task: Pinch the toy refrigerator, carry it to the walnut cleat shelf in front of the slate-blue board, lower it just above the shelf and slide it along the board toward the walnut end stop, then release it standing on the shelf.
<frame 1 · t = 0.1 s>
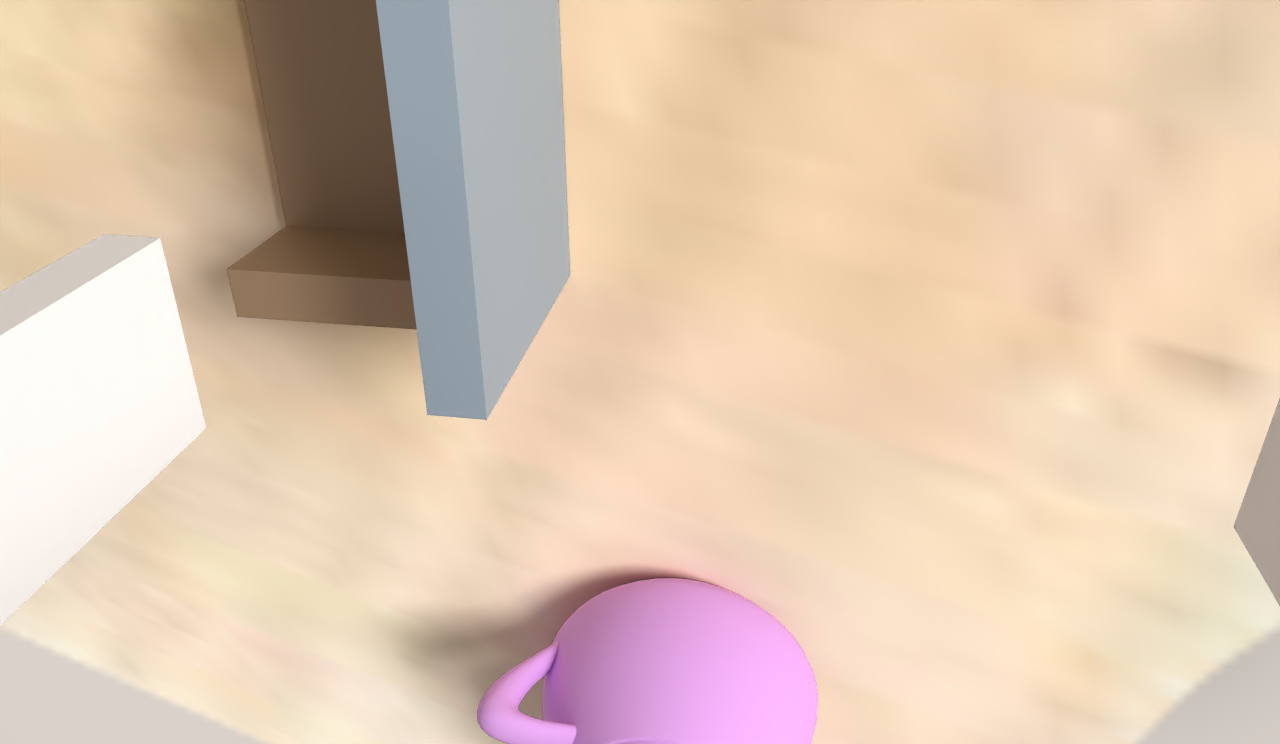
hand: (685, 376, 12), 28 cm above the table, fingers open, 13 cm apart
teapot: (698, 666, 52), on the table
cleat board: (406, 0, 38), on the table
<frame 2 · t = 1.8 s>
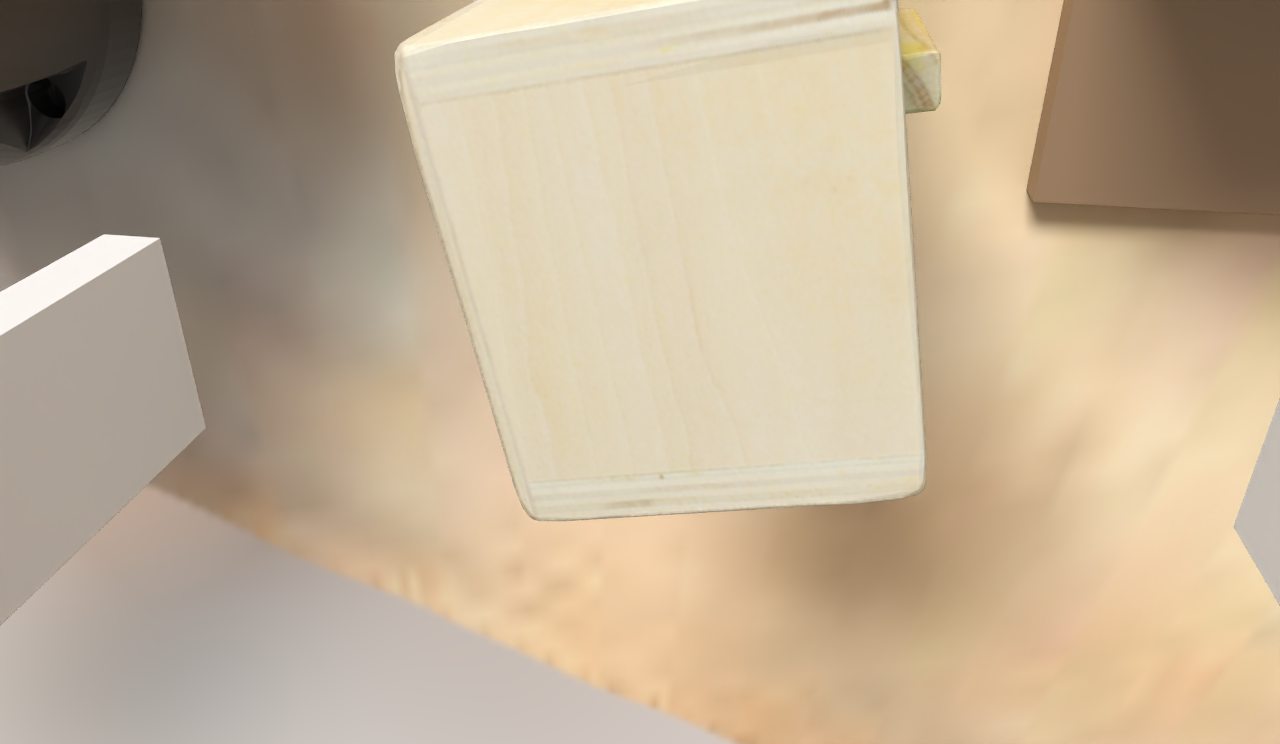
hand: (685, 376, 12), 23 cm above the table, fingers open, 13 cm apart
toy refrigerator: (765, 24, 32), on the table
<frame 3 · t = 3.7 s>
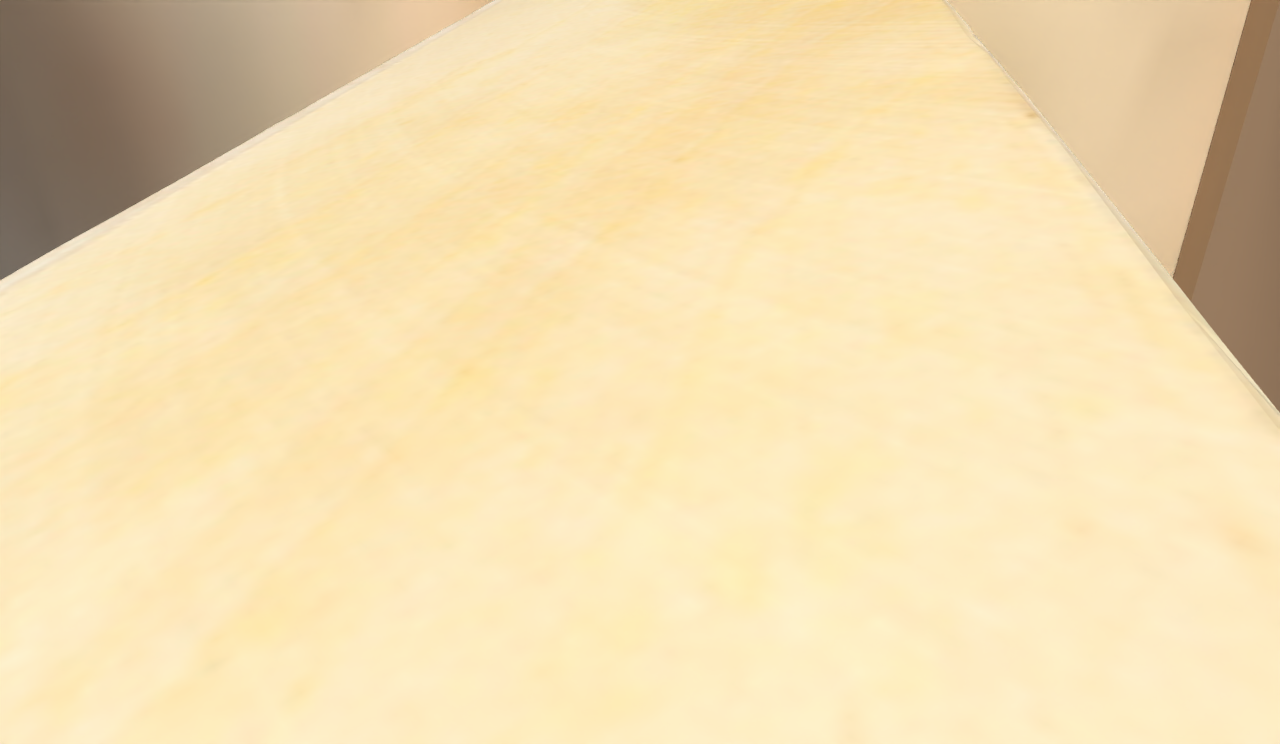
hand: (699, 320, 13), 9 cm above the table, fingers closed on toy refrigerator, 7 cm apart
toy refrigerator: (755, 134, 21), on the table, touching gripper
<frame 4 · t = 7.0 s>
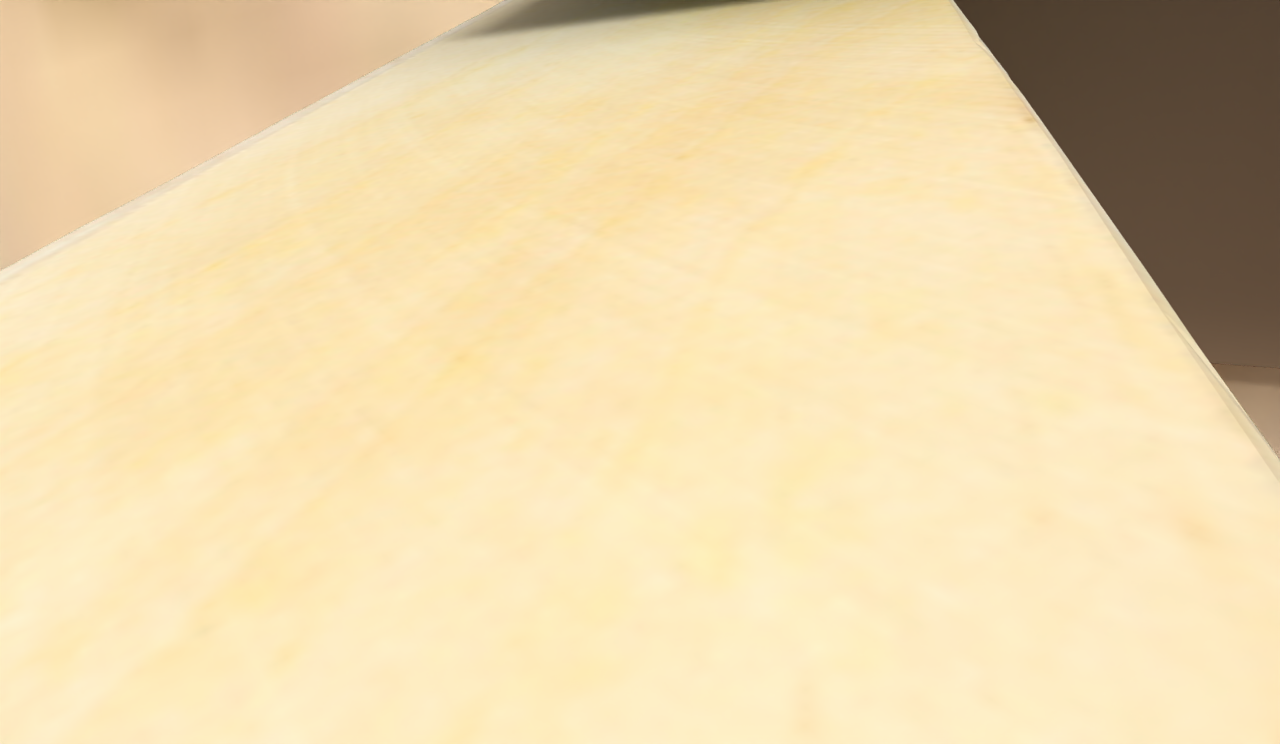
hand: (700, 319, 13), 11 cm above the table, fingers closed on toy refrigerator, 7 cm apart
toy refrigerator: (768, 135, 21), point 2 cm above the table, touching gripper
cleat board: (1080, 78, 21), on the table
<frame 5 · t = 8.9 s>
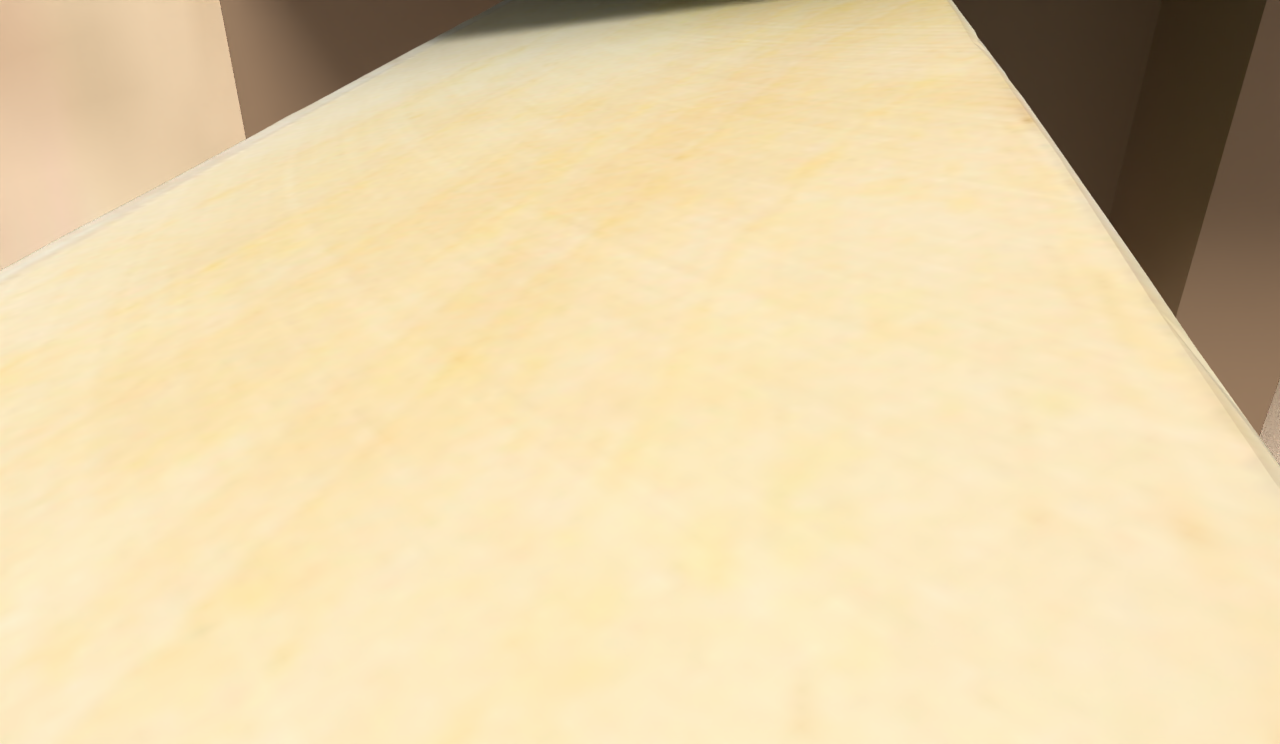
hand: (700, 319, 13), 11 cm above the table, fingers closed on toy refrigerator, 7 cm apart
toy refrigerator: (767, 135, 21), point 2 cm above the table, touching gripper
cleat board: (707, 62, 23), on the table
when the fingers open (11 cm above the table, at t = 10.5 s): toy refrigerator stays where it is, resting on cleat board.
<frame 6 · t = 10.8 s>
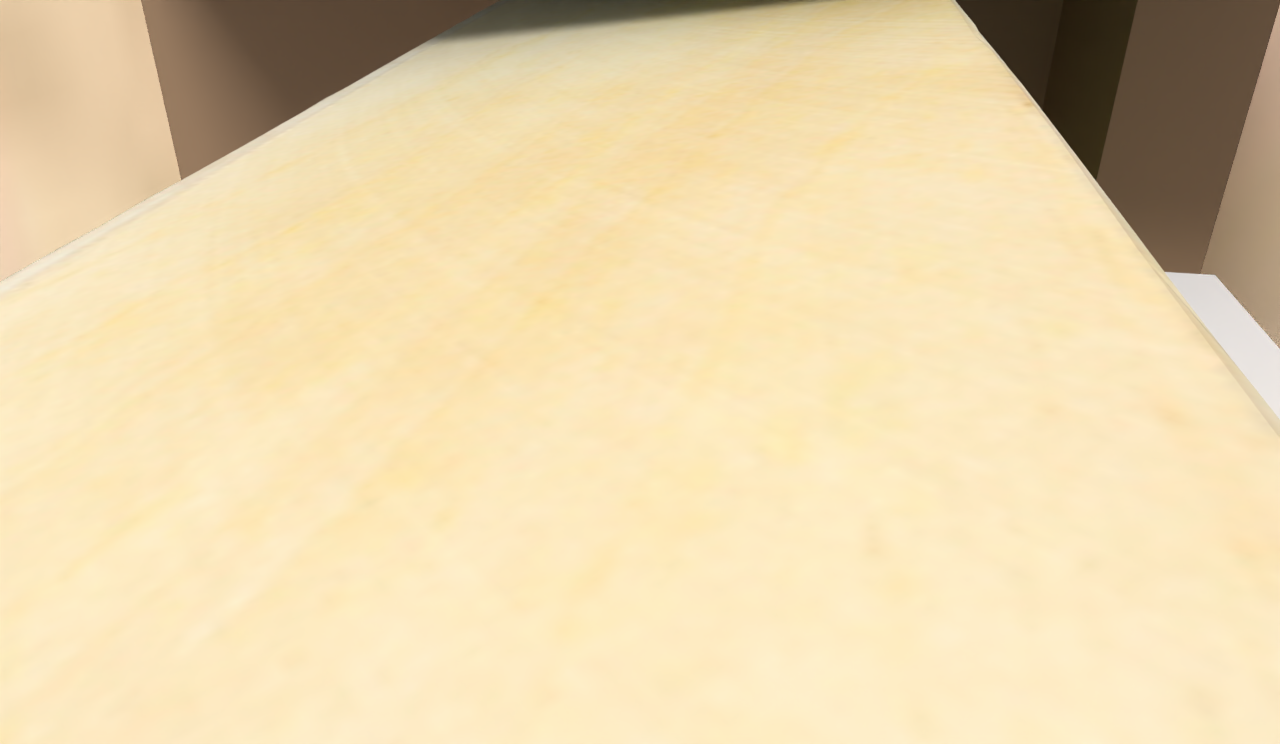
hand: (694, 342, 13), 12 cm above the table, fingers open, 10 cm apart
toy refrigerator: (765, 126, 22), point 1 cm above the table, touching cleat board
cleat board: (625, 64, 23), on the table
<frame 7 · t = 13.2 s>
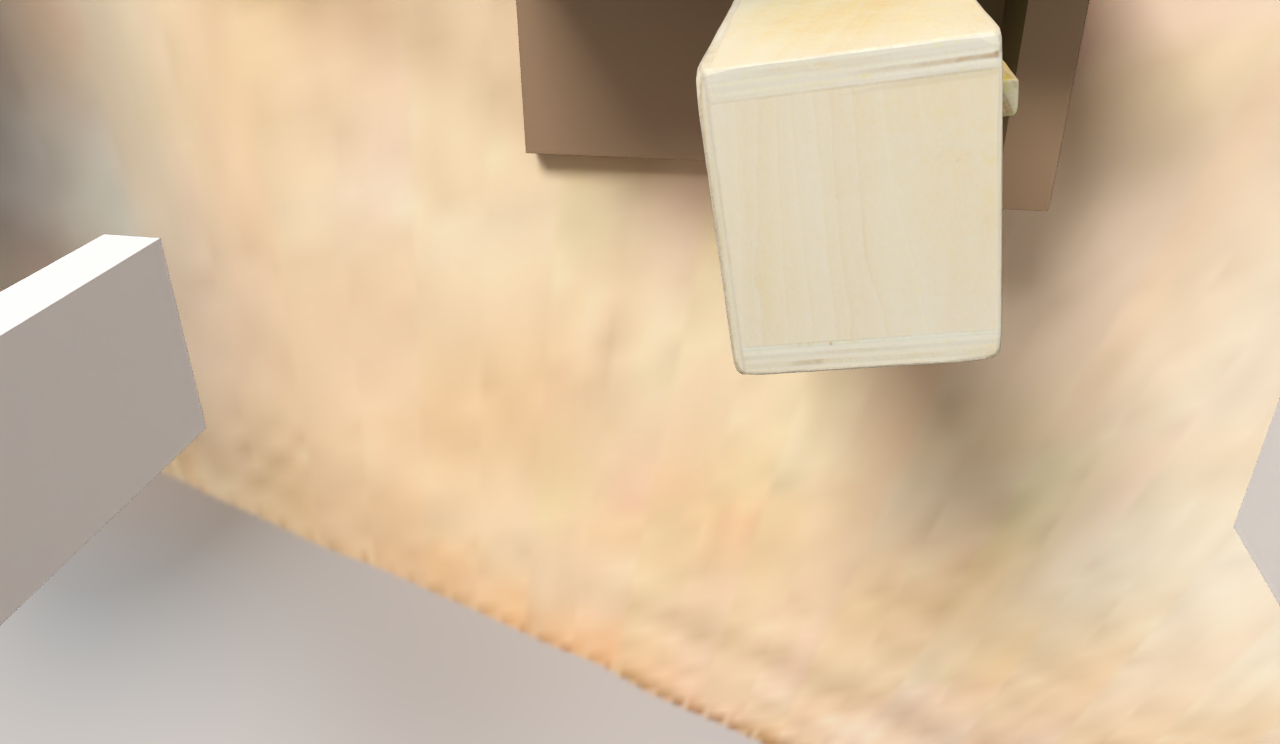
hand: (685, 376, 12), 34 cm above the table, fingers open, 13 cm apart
toy refrigerator: (853, 46, 41), point 1 cm above the table, touching cleat board
cleat board: (776, 15, 42), on the table
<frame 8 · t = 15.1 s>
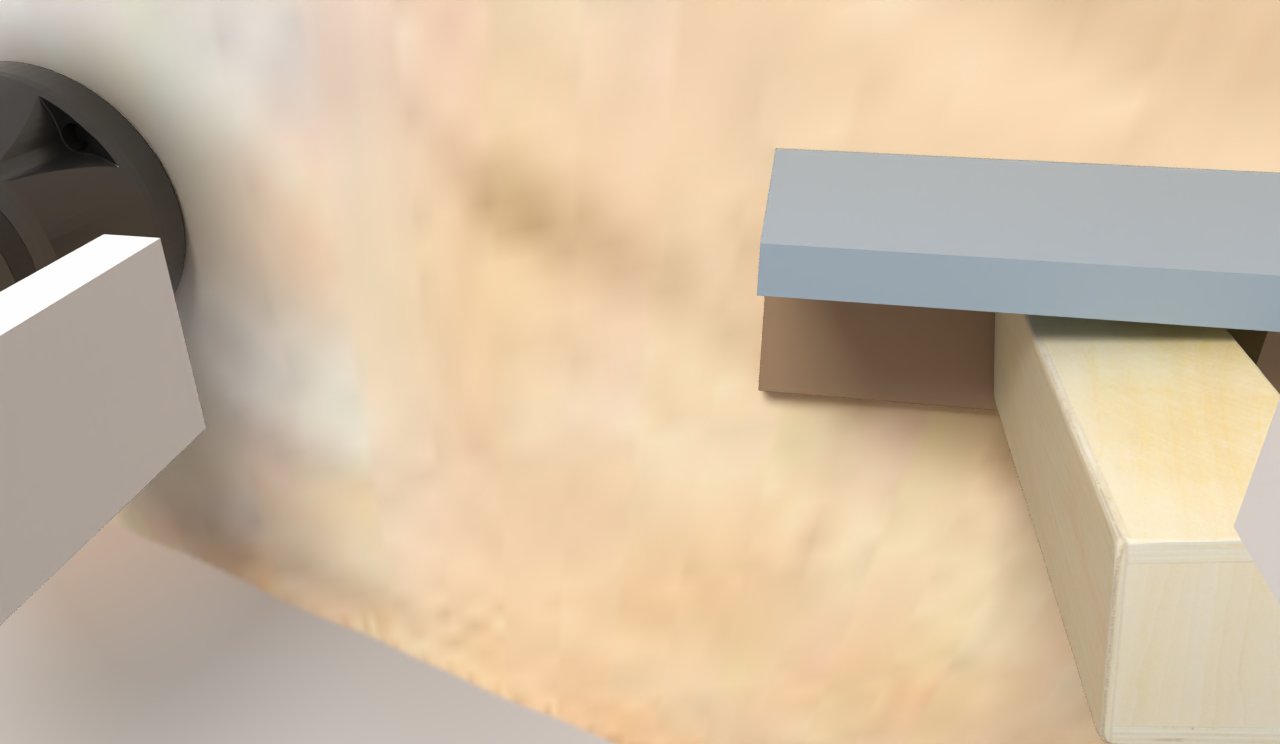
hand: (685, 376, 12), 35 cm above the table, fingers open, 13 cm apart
toy refrigerator: (1077, 320, 46), point 1 cm above the table, touching cleat board
cleat board: (1003, 286, 47), on the table
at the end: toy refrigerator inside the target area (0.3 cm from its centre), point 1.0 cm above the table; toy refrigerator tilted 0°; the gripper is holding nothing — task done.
